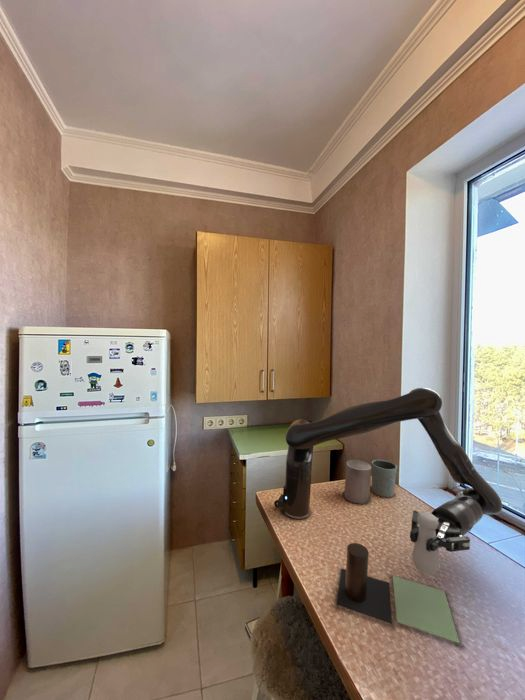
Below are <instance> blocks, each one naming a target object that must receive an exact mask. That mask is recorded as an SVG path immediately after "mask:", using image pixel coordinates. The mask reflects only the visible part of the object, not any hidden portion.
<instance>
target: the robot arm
mask: <svg viewBox="0 0 525 700" xmlns="http://www.w3.org/2000/svg"><path fill="white" fill-rule="evenodd" d="M442 406H443V400H442V397H441V395H439V393H438V392H436V391H435V390H433V389H431V388H428V387H418V388H414V389H412V390H410V391H409V392H408V393H405V394H402V395H400V396H397V397H394V398H390V399H386V400H380V401H371V402H366V403H362V404H361V403H360V404H358V405H354V406H350V407H346V408H344V409H341V410H339V411H337V412H335V413H333V414H331V415H329V416H327V417H324V418H323V419H320V420H315V421H311V422H309V421H308V420H306V419H303V418H301V419H296V420H294V421H293V422H291V424H290V425H289V427H288V428H287V430H286V433H285V442H286V444H287V446H288V447H287V453H286V459H285V478H284V479H285V482H284V485H283V489H282V490H283V491H282V494H280V496H279V497H278V499H276V500H275V501H274V502H273V505H274V507H275V508H276V509H277V508H278V509H281V510H282V511H281V513H282V514H285V515H286V516H287V517H289V518H291V519H296V520H302V519H306V518H308V517H309V516H310V515H311V514H310V513H311V510H310V509H311V489H312V488H311V487H312V486H311V485H312V468H313V467H312V465H313V456H314V446H317V445H320V444H323V443H325V442H329V441H335V440H339V439H344V438H347V437H354V436H359V435H362V434H365V433H370V432H372V431H376V430H380V429H382V428H385V427H388V426H391V425H393V424H397V423H400V422H405V421H411V420H418V421H419V423H420V424H421V426H422V427H423V429H424V430H425V432H426V434H427V435H428V436H429V439H430V440H431V442H432V444H433V446H434V448H435V449H436V451H437V453H438V456H439V458H440V459H441V461H442V463H443V465H444V466H445V469H446V470H447V472H448V473H449V476H450V477H451V479H452V480H453V481H454V483H456V484H460V485H466V486H469V487H470V488H463V489H460V490H458V491H457V493H456V495H455V497H454V498H453V499H452V500H448V501H446V502H444V503H443V504H441V505H439V506H438V507H436V508H435V509H433V510H432V511H431V512H430V513H431V514H433V515H434V516H435V517H436V518H437V519H438V527H437V529H435V532H436V536H435V538H433V539H432V538H431V539H429V540H428V541H427V543H426V550H427V551H429V552H431V551H435V550H437V549H438V550H439V549H442V548H445V550H446V551H447V552H449V553H451V552H452V553H453V552H460V551H461V552H462V551H470V549H471V547H470V546H471V538H470V537H469V536H467V535H466V534H467V533H469V532H470V531H471V530H472V529H473V528H474V526H475V525H477V524H478V523H479V522H480V521H481V520H482V518H483V516H484V515H485V516H486V515H498V514H500V513H501V512H502V510H503V502H502V498H501V497H500V495H499V493H498V492H497V491H496V490H495V489H494V488H493V486H492V485H490V484H489V482H487V480H485V479H484V478H483V476H482V475H481V474H480V473H479V472H478V471H477V469H476V468H475V466H474V464H473V462H472V460H471V459H470V458H469V456H468V454H467V452H466V451H465V450H464V447H463V446H462V445H461V444H460V442H459V441H458V440H457V439H456V437H455V436H454V434H453V433H452V431H451V430H450V429H449V427H448V425H447V424H446V422H445V421H444V419H443V417H442V415H441V412H440V411H441V410H442ZM418 513H419V511H417V510H413V511H412V517H411V525H410V526H411V527H410V528H411V530H410V531H409V538H410V542H412V543H414V544H415V542H416V541H417V537H418V531H419V526H420V525H419V523H418V521H417V517H418Z"/></svg>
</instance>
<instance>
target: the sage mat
mask: <svg viewBox="0 0 525 700" xmlns="http://www.w3.org/2000/svg"><path fill="white" fill-rule="evenodd" d="M392 584H393V596H394V606H395V608H394V609H395V618H396V623H399V624H402V625H404V626H408V627H411V628H414V629H416V630H418V631H419V630H420V631H422V632H425V633H428V634H431V635H434V636H437V637H440V638H443V639H446V640H448V641H450V642H453V643H454V645H456V646H460V639H459V636H458V633H457V629H456V626H455V623H454V619H453V616H452V613H451V608H450V606H449V602H448V599H447V595H446V591H445V590H444V589H443V590H442V589H439V588H437V587H436V588H435V587H432V586H429V585H426V584H423V583H418V582H416V581H412V580H409V579H405V578H402V577H397V576H395V575H392Z"/></svg>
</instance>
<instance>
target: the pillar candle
mask: <svg viewBox="0 0 525 700" xmlns="http://www.w3.org/2000/svg"><path fill="white" fill-rule="evenodd" d="M344 478H345V479H344V493H343V494H344V498H345V499H346V500H347V501H348V502H351V503H354V504H358V505H364V504H368V503H369V502H370V495H371V479H372V464H369V462H366V461H364V460H359V459H350V460H349V459H348V460H346V462H345V476H344Z"/></svg>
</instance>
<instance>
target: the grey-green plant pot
mask: <svg viewBox="0 0 525 700" xmlns="http://www.w3.org/2000/svg"><path fill="white" fill-rule="evenodd" d="M370 465H371V491H372V492H373V494H375V495H377V496H379V497H382V498H392V497H394V495H395V487H396V478H397V471H398V466H397V464H396V463H394V462H392V461H389V460H385V459H373V460H372V461H371V463H370Z"/></svg>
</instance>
